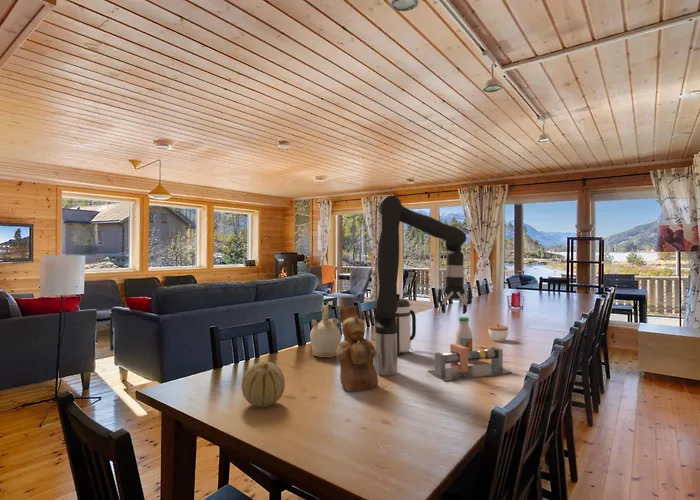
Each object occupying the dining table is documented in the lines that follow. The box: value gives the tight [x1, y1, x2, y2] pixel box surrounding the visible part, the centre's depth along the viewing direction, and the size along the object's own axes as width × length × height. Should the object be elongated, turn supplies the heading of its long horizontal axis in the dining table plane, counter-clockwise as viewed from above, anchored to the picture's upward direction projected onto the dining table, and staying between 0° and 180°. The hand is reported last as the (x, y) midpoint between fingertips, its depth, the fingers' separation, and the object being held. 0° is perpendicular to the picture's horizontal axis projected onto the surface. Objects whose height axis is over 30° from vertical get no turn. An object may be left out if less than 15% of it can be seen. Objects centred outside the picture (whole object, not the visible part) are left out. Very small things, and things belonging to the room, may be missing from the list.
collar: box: [449, 343, 469, 372], centre depth 175 cm, size 3×8×10 cm, turn 18°
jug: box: [309, 304, 341, 358], centre depth 208 cm, size 15×16×25 cm
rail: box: [427, 346, 513, 383], centre depth 176 cm, size 32×14×9 cm, turn 108°
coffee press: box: [396, 293, 417, 357], centre depth 212 cm, size 17×16×30 cm
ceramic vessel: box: [335, 305, 379, 392], centre depth 164 cm, size 16×22×30 cm
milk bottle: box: [455, 316, 473, 351], centre depth 197 cm, size 8×8×20 cm
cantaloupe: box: [241, 361, 286, 408], centre depth 142 cm, size 15×15×15 cm
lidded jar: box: [488, 323, 509, 343], centre depth 237 cm, size 11×11×9 cm
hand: (453, 313), depth 179 cm, fingers open, 8 cm apart
